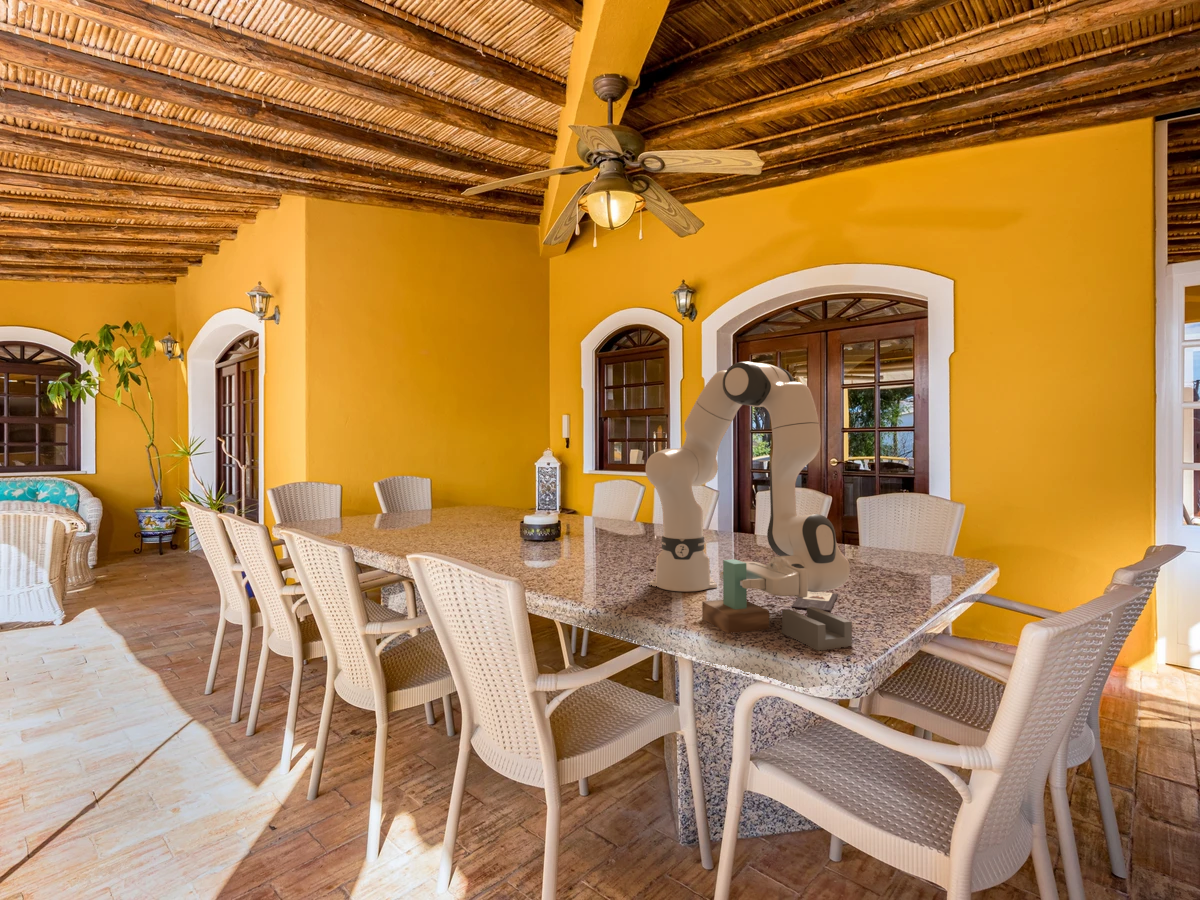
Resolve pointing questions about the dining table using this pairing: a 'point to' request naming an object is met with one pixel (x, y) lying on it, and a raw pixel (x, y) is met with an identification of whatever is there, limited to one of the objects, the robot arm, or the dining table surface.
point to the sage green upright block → (734, 584)
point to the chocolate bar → (816, 601)
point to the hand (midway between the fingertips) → (731, 579)
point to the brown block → (735, 617)
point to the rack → (817, 628)
